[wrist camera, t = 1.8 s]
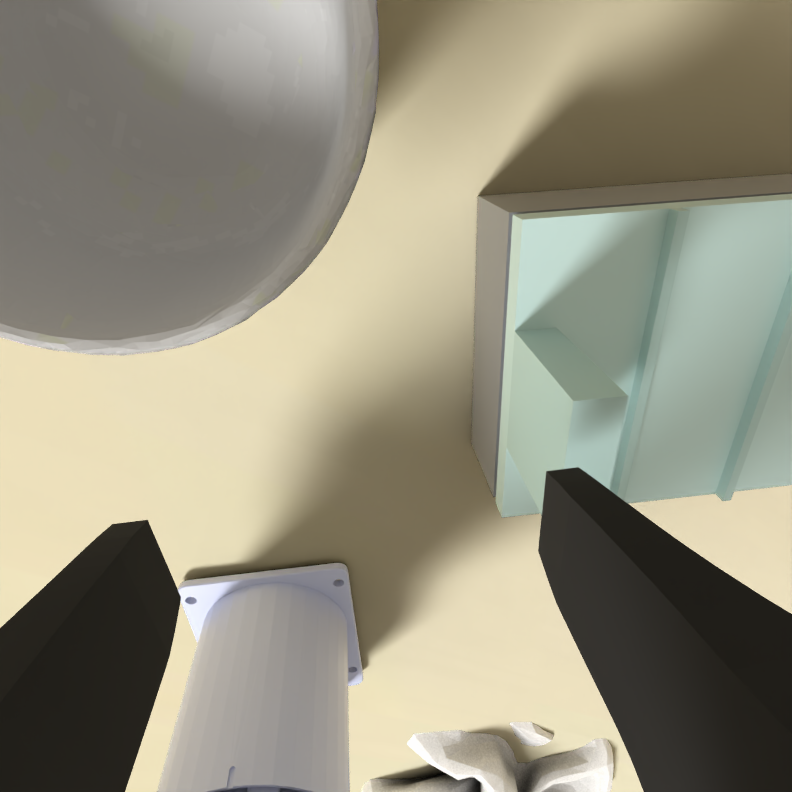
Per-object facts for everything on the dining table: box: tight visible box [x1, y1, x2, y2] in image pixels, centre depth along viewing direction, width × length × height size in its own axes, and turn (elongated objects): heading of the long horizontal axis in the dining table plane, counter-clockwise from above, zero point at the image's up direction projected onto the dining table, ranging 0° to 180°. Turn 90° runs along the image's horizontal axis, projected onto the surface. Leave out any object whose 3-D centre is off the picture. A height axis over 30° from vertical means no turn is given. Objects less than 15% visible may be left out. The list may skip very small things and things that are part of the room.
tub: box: [471, 173, 792, 497], centre depth 18 cm, size 12×10×4 cm
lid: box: [496, 194, 792, 518], centre depth 14 cm, size 12×10×5 cm
